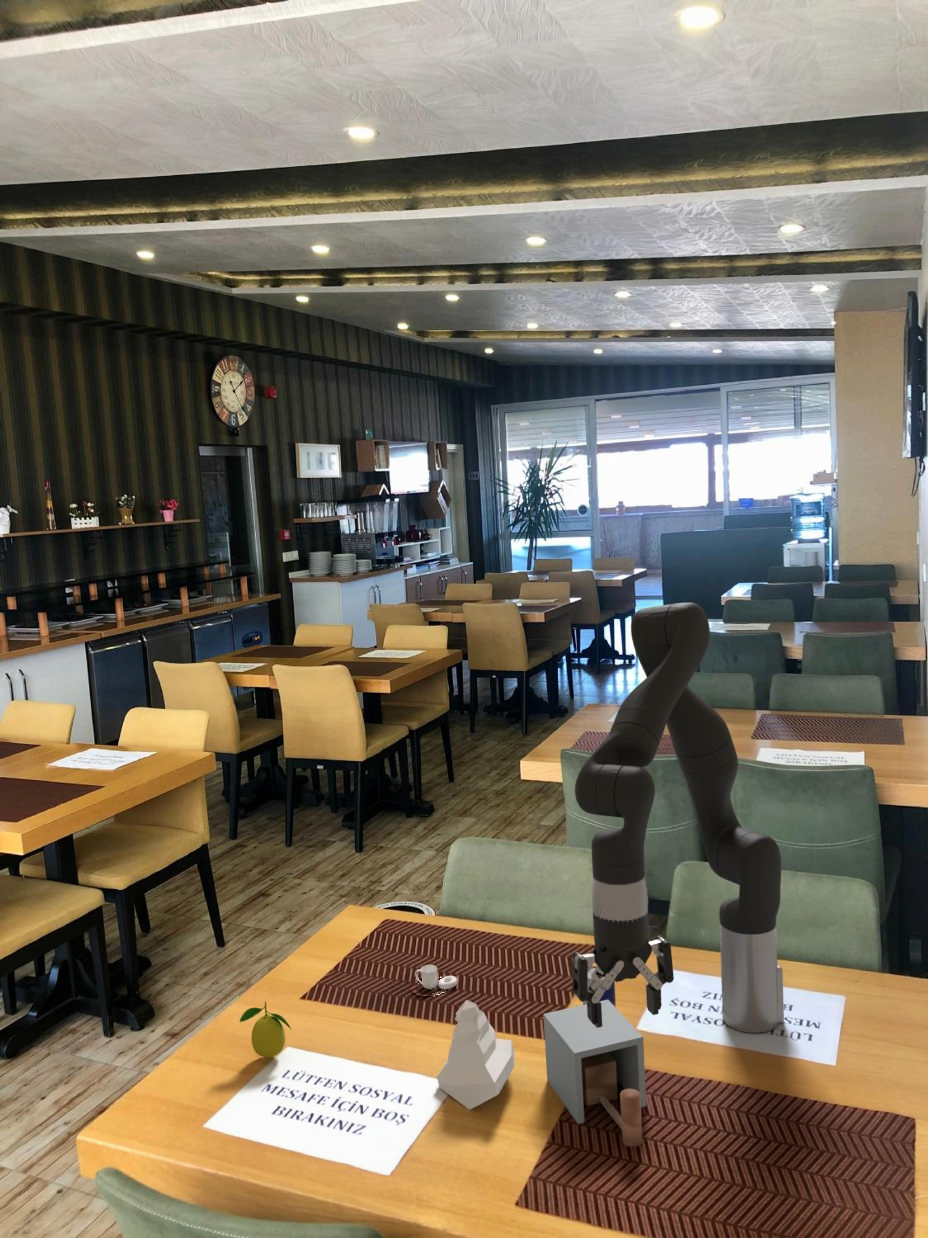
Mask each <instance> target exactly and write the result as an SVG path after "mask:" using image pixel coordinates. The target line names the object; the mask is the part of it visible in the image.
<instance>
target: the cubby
mask: <svg viewBox="0 0 928 1238" xmlns="http://www.w3.org/2000/svg"><path fill="white" fill-rule="evenodd" d="M600 1002H601V1008H602V1027H599V1028H596V1026H595V1025H594V1024H592V1023H591V1021H590V1020H589V1019H588V1017H587V1004H586V1005H583V1004H582V1005H579V1006H578V1005H577V1006H574V1007H570V1008H569V1007H567V1008H566V1009H560V1010H556V1011H551V1012H547V1013H543V1027H544V1032H543V1033H544V1045H545V1046H544V1049H545V1063H546V1064H545V1065H546V1067H545V1068H546V1079H547V1082H548V1083H549V1085H550V1086H551V1088H552V1089H553V1091H554V1092H555V1093H556V1095H557V1096H558V1098H559V1099H560V1100H561V1102H562V1103H563V1105H564V1106H565V1107H566V1109H567V1111H568V1112H569V1114H570V1115H571V1116H572V1117H573V1119H574V1121H575V1122H576V1124H577V1125H581V1124H584V1123H585V1109H584V1108H585V1107H584V1101H583V1085H582V1066H581V1058H584V1057H588V1056H592V1055H597V1054H601V1053H605V1052H608V1053H609V1054H610V1055H611V1056H612V1057H613V1058H614V1060H615V1061H616V1077H617V1083H619V1084H620V1085H621V1087H622V1088H623V1090H625V1089H635V1090H637V1091H638V1092H639V1093H640V1099H641V1109H642V1108H645V1107H647V1095H646V1094H647V1092H646V1091H647V1090H646V1071H645V1069H646V1068H645V1048H644V1047H645V1046H644V1036H643V1035H642V1034H641V1033H640V1032H639V1031H638V1029H637V1028H635V1026H634V1025H632V1023H631V1022H630V1021H629V1020H628V1018H626V1017H625V1016H624V1015H623V1014H622V1013H621V1012H620V1010H619V1009H618V1008H617V1007H615V1006H614V1005H613V1004H612V1003H611V1002H610V1001H609V1000H604V1001H600Z"/></svg>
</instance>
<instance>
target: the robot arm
mask: <svg viewBox="0 0 928 1238" xmlns="http://www.w3.org/2000/svg"><path fill="white" fill-rule="evenodd" d="M630 633H631V641H632V645H633V648H634V651H635V654H636V656H637V658H638V661H639V664H640V666H641V668H642V670H643V672H644V675H645V679H644V680H642V681H641V682H640V683H639V684H638V685H636V687H635V688H634V689H633V690H632V691H631V692H630V693H629V694H628V695H627V697H625V699H624V700H623V702H622V703H621V704H620V707H619V709H618V710H617V714H616V716H615V718H614V720H613V723H612V725H611V728H610V730H609V733H608V735H607V737H606V738H605V739H604V740H603V741H602V743H601V744H600V745H599V746H598V747H597V748H596V750H595V751H594V752H593V753H592V754H591V755H590V757H589V758H587V760H586V761H585V763H584V764H583V765H582V767H581V769H580V771H579V772H578V775H577V778H576V781H575V785H574V786H575V787H574V796H575V800H576V803H577V805H578V807H579V808H580V810H582V811H583V812H584V813H587V814H590V815H595V816H604V817H613V818H621V819H623V827H618V828H609V829H605V830H601V831H599V832H597V833H596V834H594V836H593V837H592V840H591V864H592V865H591V866H592V867H591V868H592V869H591V870H592V886H591V904H592V907H591V908H592V924H593V940H594V949H593V951H592V953H586V954H581V953H580V952H578V951H576V952H574V953H573V954H572V984H571V985H572V988H571V989H572V993H573V994H574V995H575V996H576V997H577V999H578V1000H579V1001H580V1002H581V1003H583V1002H584V1001H587V1017H588V1019H589V1020H590V1021H591V1023H592V1024H594V1025H595V1026H596V1028H599V1027H602V1008H601V1002H600V1001H599V1000H600V999H601V997H602V995H603V994H604V992H605V991H606V990H608V989H609V988H610V986H611V984H612V983H613V981H615V983H619V982H622V981H624V980H633V979H637V976H639V975H641V976H642V977H643V978H644V979H645V980H646V982H648V983H646V984H645V993H646V995H645V996H646V1009H647V1010H648V1012H649V1013H650V1014H651V1015H652V1016H656V1015H659V1013H660V1012H659V1010H661V1008H662V1005H663V1003H662V988H663V986H664V984H667V983H668V984H670V983H672V982H673V981H674V980H675V979H674V977H675V976H674V966H673V955H672V946H671V943H670V942H669V941H668V940H667V939H665V938H664V937H663V936H662V935H656V937H655V938H654V940H651V941H649V939H650V929H649V927H650V926H649V925H650V924H649V909H648V908H649V898H648V888H647V883H646V876H645V875H646V874H645V855H644V854H645V852H644V851H645V840H646V834H647V829H648V828H647V827H648V823H649V818H650V815H651V812H652V807H653V804H654V801H655V796H656V795H655V794H656V787H655V783H654V779H653V777H652V776H651V774H650V773H649V771H648V770H647V769H646V768H645V767H647V766H648V765H650V764H651V763H652V762H653V761H654V759H655V756H656V755H657V752H658V749H659V746H660V743H661V740H662V737H663V734H664V732H665V729H666V728H667V730H668V732H669V736H670V740H671V742H672V743H671V744H672V746H673V750H674V752H675V756H676V759H677V761H678V765H679V767H680V769H681V772H682V774H683V777H684V781H685V782H686V785H687V789H688V792H689V794H690V798H691V801H692V804H693V807H694V810H695V814H696V817H697V818H696V819H697V821H698V825H699V831H700V835H701V839H702V843H703V848H704V852H705V856H706V859H707V863H708V865H709V867H710V869H711V870H712V871H713V873H714V874H715V875H716V876H718V877H719V878H721V879H722V880H726V881H728V882H731V883H733V884H736V885H738V886H739V892H738V897H732V898H729V899H727V900H725V901H723V902H721V905H720V906H719V909H718V910H719V911H718V913H719V915H718V916H719V940H720V941H719V944H720V945H719V946H720V973H721V974H720V975H721V1001H722V1002H721V1003H722V1004H721V1005H722V1006H721V1009H722V1019H723V1022H724V1023H725V1024H726V1025H727V1026H728V1027H730V1028H732V1029H734V1030H737V1031H740V1032H745V1033H754V1034H755V1033H757V1034H758V1033H759V1034H760V1033H765V1032H769V1031H771V1030H774V1029H775V1028H776V1027H777V1026H778V1025H779V1024H780V1023H784V1022H785V1011H784V1010H785V1009H784V1004H785V1003H784V973H783V972H784V970H783V968H782V966H780V965H778V941H777V937H778V935H777V915H778V913H779V909H780V906H781V890H782V889H781V887H782V885H781V884H782V883H781V882H782V855H781V851H780V848H779V845H778V843H777V842H776V840H775V839H773V837H771V836H769V835H766V834H763V833H760V832H757V831H754V830H751V829H748V828H745V827H743V826H742V825H741V824H740V822H739V820H738V817H737V815H736V813H735V810H734V807H733V804H732V798H731V795H732V794H731V793H732V790H733V787H734V785H735V780H736V778H737V773H738V769H739V759H738V754H737V751H736V748H735V747H736V746H735V744H734V741H733V738H732V735H731V732H730V729H729V728H728V724H727V723H726V721H725V719H724V718H723V717H722V716H721V715H720V713H718V712H717V711H716V710H715V709H714V708H713V707H712V706H711V705H710V704H709V703H707V702H706V701H705V700H704V699H703V698H702V697H701V696H699V694H698V693H696V692H695V691H694V690H693V689H692V688H691V687H690V686H689V683H690V681H691V679H692V678H693V676H694V674H695V673H696V671H697V670H698V668H699V666H700V665H701V663H702V661H703V659H704V658H705V656H706V653H707V651H708V647H709V643H710V638H711V629H710V623H709V619H708V617H707V614H706V612H705V611H704V609H703V608H702V606H700V605H699V604H698V603H695V602H676V603H671V604H664V605H663V604H662V605H658V606H657V605H656V606H649V607H644V608H640V609H638V610H636V612H635V613H634V614H633V615H632V617H631V621H630ZM652 953H653V954H654V955H656V967H657V971H656V972H653V971H652V970H651V969H650V968H649V967H648V965H646V964H647V962H648V960H649V958H650V957H651V955H652ZM594 963H595V966H597V967H596V968H595V970H594V972H593V973H592V975H591V981H590V982H589V984H588V971H590V970H591V966H592V965H593V964H594ZM603 974H605V977H604V979H603V978H602V976H603Z"/></svg>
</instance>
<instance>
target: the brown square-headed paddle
mask: <svg viewBox="0 0 928 1238" xmlns="http://www.w3.org/2000/svg"><path fill="white" fill-rule="evenodd" d="M581 1066H582V1085H583V1103H584V1104H585V1105H586V1106H587V1107H589V1106H593V1105H597V1104H601V1105H602V1106H603V1107H604V1109H605V1110H606V1111H607V1112H608V1113H609V1115H610V1117H611V1118H612V1119H613V1120H614V1122H615V1123H616V1124H617V1125H618V1127H619V1128H620V1129H621V1141H622V1144H623V1145H624V1146H626V1147H629V1148H638V1147H640V1146H641V1145H642V1144H643V1127H642V1108H641V1099H640V1093H639V1092H638V1091H637V1090H635V1089H623V1090H621V1092H620V1093H619V1099H620V1113H619V1112H618V1111H617V1109H616V1108H615V1107H614V1105H612V1103H611V1102H610V1101H612V1100H616V1099H618V1080H617V1077H616V1061H615V1060H614V1058H613V1057H612V1056H611V1055H610V1054H609V1053H608V1052H605V1053H601V1054H597V1055H592V1056H588V1057H584V1058H581Z"/></svg>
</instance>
